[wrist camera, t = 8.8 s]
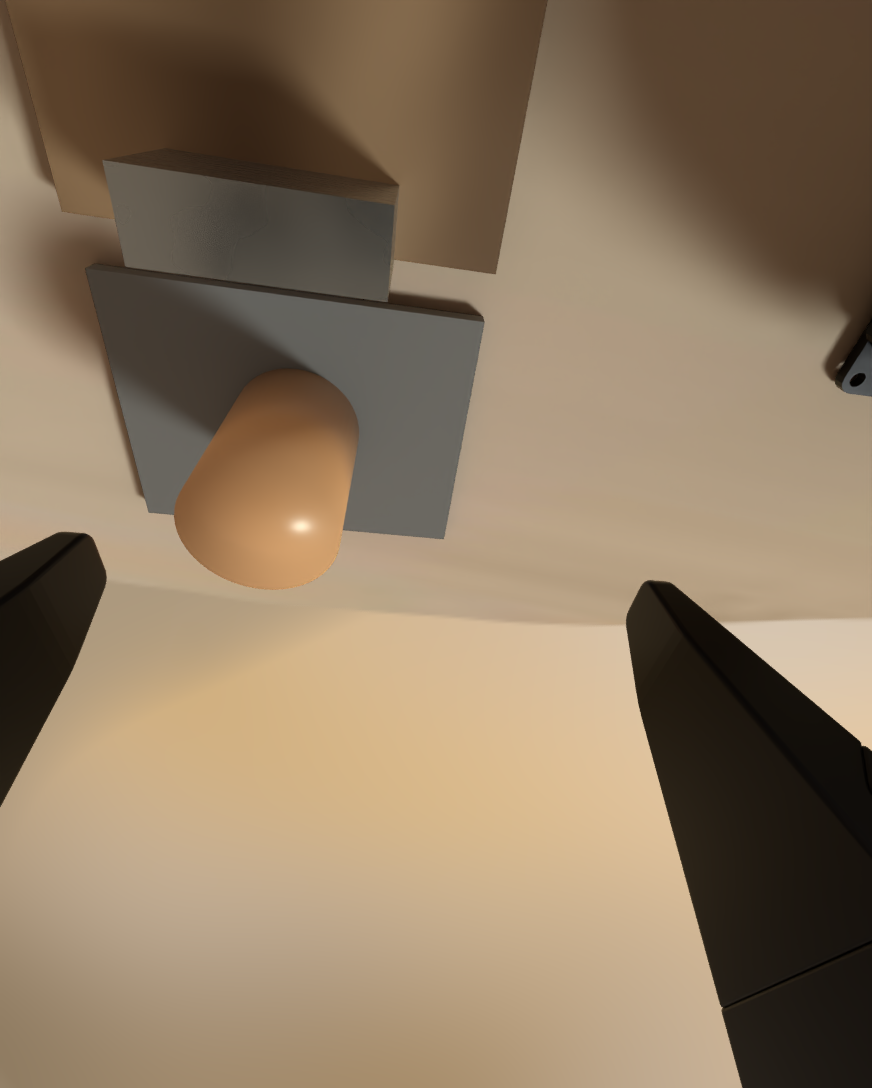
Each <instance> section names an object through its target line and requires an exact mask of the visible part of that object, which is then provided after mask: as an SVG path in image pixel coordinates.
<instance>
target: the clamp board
mask: <svg viewBox="0 0 872 1088" xmlns="http://www.w3.org/2000/svg"><path fill="white" fill-rule="evenodd" d="M5 1H6V5H7V9H8V12H9V16H10V20H11V24H12V27H13V31H14V35H15V38H16V42H17V46H18V50H19V53H20V57H21V61H22V64H23V68H24V72H25V76H26V79H27V83H28V87H29V90H30V94H31V98H32V102H33V105H34V109H35V113H36V116H37V120H38V124H39V128H40V131H41V135H42V139H43V143H44V146H45V150H46V154H47V157H48V161H49V165H50V169H51V172H52V176H53V180H54V183H55V187H56V191H57V195H58V198H59V202H60V206H61V209H62V212H68V213H75V214H82V215H89V216H95V217H102V218H109V219H115V217H114V212H113V208H112V203H111V198H110V194H109V189H108V185H107V180H106V175H105V171H104V166H103V161H102V160H105V159H110V158H115V157H121V156H126V155H131V154H137V153H142V152H147V151H152V150H158V149H163V148H168V149H174V150H180V151H187V152H193V153H199V154H205V155H212V156H218V157H224V158H231V159H237V160H243V161H249V162H256V163H262V164H268V165H275V166H281V167H287V168H294V169H300V170H306V171H312V172H319V173H325V174H331V175H338V176H344V177H350V178H356V179H363V180H369V181H375V182H382V183H388V184H394V185H399V198H398V211H397V224H396V237H395V251H394V260H400V261H407V262H414V263H421V264H428V265H435V266H442V267H449V268H456V269H463V270H470V271H477V272H483V273H490V274H496V269H497V264H498V259H499V254H500V248H501V243H502V238H503V232H504V227H505V222H506V217H507V211H508V206H509V201H510V196H511V190H512V185H513V180H514V174H515V169H516V164H517V159H518V153H519V148H520V143H521V138H522V132H523V127H524V122H525V116H526V111H527V106H528V101H529V95H530V90H531V85H532V80H533V74H534V69H535V64H536V58H537V53H538V48H539V43H540V37H541V32H542V27H543V22H544V16H545V11H546V6H547V0H5Z"/></svg>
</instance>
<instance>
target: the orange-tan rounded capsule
mask: <svg viewBox="0 0 872 1088" xmlns="http://www.w3.org/2000/svg"><path fill="white" fill-rule="evenodd" d="M358 441H359V425H358V420H357V416H356V413H355V411H354V409H353V407H352V405H351V403H350V402H349V400H348V399H347V398H346V396H345V395H344V394H343V393H342V392H341V391H340V390H339V389H338V388H337V387H336V386H335V385H333V384H332V383H331V382H329V381H328V380H326V379H324V378H323V377H321V376H318V375H316V374H314V373H311V372H308V371H305V370H299V369H290V368H285V369H276V370H271V371H268V372H265V373H262V374H261V375H259V376H257V377H255V378H254V379H252V380H251V381H250V382H249V383H248V384H247V385H246V386H245V387H244V388H243V390H242V391H241V393H240V394H239V396H238V398H237V399H236V401H235V403H234V404H233V406H232V408H231V409H230V411H229V412H228V414H227V416H226V417H225V419H224V421H223V422H222V424H221V426H220V427H219V429H218V430H217V432H216V434H215V435H214V437H213V439H212V440H211V442H210V444H209V445H208V447H207V448H206V450H205V452H204V453H203V455H202V457H201V458H200V460H199V462H198V463H197V465H196V466H195V468H194V470H193V471H192V473H191V475H190V476H189V478H188V480H187V481H186V483H185V484H184V486H183V488H182V489H181V491H180V493H179V495H178V497H177V500H176V503H175V508H174V519H175V526H176V529H177V532H178V535H179V537H180V539H181V541H182V543H183V544H184V546H185V547H186V549H187V550H188V551H189V552H190V553H191V555H192V556H193V557H194V558H195V559H196V560H197V561H198V562H199V563H201V564H202V565H203V566H204V567H206V568H207V569H208V570H210V571H212V572H213V573H215V574H216V575H218V576H220V577H222V578H224V579H226V580H229V581H231V582H234V583H237V584H240V585H243V586H247V587H252V588H258V589H271V590H276V589H287V588H293V587H297V586H301V585H304V584H306V583H309V582H311V581H313V580H315V579H316V578H318V577H319V576H321V575H322V574H323V573H324V572H325V571H326V570H327V569H328V568H329V567H330V566H331V565H332V563H333V562H334V560H335V558H336V556H337V554H338V550H339V547H340V541H341V536H342V530H343V525H344V519H345V513H346V508H347V502H348V497H349V491H350V486H351V480H352V474H353V469H354V463H355V458H356V452H357V447H358Z"/></svg>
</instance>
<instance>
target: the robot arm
mask: <svg viewBox="0 0 872 1088" xmlns="http://www.w3.org/2000/svg"><path fill="white" fill-rule="evenodd" d="M856 374H858V375H857V377H856V378H855V379H854V380H852V381H851V382H850V380H851V378H852V377H853V376H854V375H856ZM835 384H836V386H837V387H838V388H840V389H841V390H842V391H844V392H846V393H849V394H856V395H864V396H872V320H871V322H870V323H869V325H868V327H867V328H866V330H865V331H864V333H863V334H862V336H861V338H860V339H859V341H858V342H857V344H856V345H855V347H854V349H853V350H852V352H851V353H850V355H849V356H848V358H847V360H846V361H845V363H844V364H843V366H842V367H841V369H840V371H839V372H838V374H837V376H836V378H835ZM106 578H107V576H106V570H105V568H104V565H103V563H102V560H101V557H100V555H99V552H98V550H97V547H96V545H95V542H94V540H93V538H92V537H91V536H90V535H88V534H85V533H75V532H58V533H56V534H54V535H52V536H50V537H48V538H46V539H44V540H42V541H40V542H38V543H36V544H34V545H32V546H30V547H28V548H25V549H23V550H21V551H19V552H17V553H15V554H13V555H11V556H9V557H7V558H5V559H3V560H1V561H0V807H1V805H2V803H3V801H4V799H5V797H6V795H7V793H8V791H9V790H10V788H11V786H12V784H13V782H14V780H15V778H16V776H17V775H18V773H19V771H20V769H21V767H22V765H23V763H24V761H25V759H26V758H27V756H28V754H29V752H30V750H31V748H32V746H33V744H34V742H35V740H36V739H37V737H38V735H39V733H40V731H41V729H42V727H43V725H44V723H45V722H46V720H47V718H48V716H49V714H50V712H51V710H52V708H53V706H54V705H55V702H56V701H57V699H58V697H59V695H60V693H61V691H62V689H63V687H64V685H65V684H66V682H67V680H68V678H69V676H70V674H71V671H72V670H73V667H74V665H75V663H76V660H77V658H78V655H79V653H80V650H81V648H82V645H83V643H84V640H85V638H86V635H87V632H88V630H89V627H90V625H91V622H92V619H93V617H94V614H95V612H96V609H97V607H98V604H99V601H100V599H101V596H102V593H103V591H104V588H105V585H106ZM626 628H627V634H628V641H629V647H630V654H631V660H632V667H633V674H634V680H635V687H636V693H637V698H638V704H639V708H640V712H641V717H642V720H643V724H644V728H645V731H646V735H647V739H648V742H649V746H650V750H651V753H652V757H653V761H654V764H655V768H656V771H657V775H658V779H659V782H660V786H661V790H662V794H663V797H664V801H665V805H666V808H667V812H668V816H669V819H670V823H671V827H672V830H673V833H674V838H675V841H676V845H677V848H678V852H679V856H680V860H681V863H682V867H683V871H684V874H685V878H686V882H687V885H688V889H689V893H690V896H691V900H692V903H693V907H694V911H695V914H696V918H697V922H698V925H699V929H700V933H701V936H702V940H703V944H704V947H705V951H706V954H707V958H708V962H709V965H710V969H711V973H712V977H713V980H714V984H715V987H716V991H717V995H718V999H719V1002H720V1005H721V1007H723V1008H722V1015H723V1018H724V1022H725V1025H726V1029H727V1033H728V1037H729V1040H730V1044H731V1048H732V1051H733V1055H734V1059H735V1062H736V1066H737V1070H738V1073H739V1077H740V1080H741V1084H742V1088H872V751H871V750H870V749H869V748H868V747H866V746H861V742H860V741H859V740H858V739H857V738H855V737H854V736H853V735H852V734H851V733H850V732H848V731H847V730H846V729H845V728H843V727H842V726H841V725H840V724H839V723H838V722H836V721H835V720H834V719H833V718H832V717H830V716H829V715H828V714H827V713H826V712H824V711H823V710H822V709H821V708H820V707H819V706H817V705H816V704H815V703H814V702H813V701H811V700H810V699H809V698H808V697H807V696H805V695H804V694H803V693H802V692H801V691H800V690H798V689H797V688H796V687H795V686H793V685H792V684H791V683H790V682H789V681H788V680H786V679H785V678H784V677H783V676H782V675H781V674H779V673H778V672H777V671H776V670H775V669H773V668H772V667H771V666H770V665H769V664H767V663H766V662H765V661H764V660H762V659H761V658H760V657H759V656H758V655H757V654H755V653H754V652H753V651H752V650H751V649H750V648H748V647H747V646H746V645H745V644H744V643H742V642H741V641H740V640H739V639H738V638H736V637H735V636H734V635H733V634H732V633H731V632H729V631H728V630H727V629H726V628H725V627H723V626H722V625H721V624H720V623H719V622H717V621H716V620H715V619H714V618H713V617H711V616H710V615H709V614H708V613H707V612H706V611H704V610H703V609H702V608H701V607H700V606H698V605H697V604H696V603H695V602H694V601H692V600H691V599H690V598H689V597H688V596H687V595H685V594H684V593H683V592H682V591H681V590H679V589H678V588H677V587H676V586H675V585H673V584H672V583H670V582H666V581H654V580H648V581H645V582H644V583H643V584H642V586H641V587H640V589H639V591H638V593H637V595H636V597H635V599H634V601H633V603H632V605H631V607H630V609H629V611H628V613H627V618H626Z"/></svg>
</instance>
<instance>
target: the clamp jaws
mask: <svg viewBox="0 0 872 1088" xmlns="http://www.w3.org/2000/svg"><path fill="white" fill-rule="evenodd" d="M102 161H103V166H104V171H105V175H106V180H107V185H108V189H109V194H110V198H111V203H112V208H113V212H114V217H115V222H116V226H117V231H118V235H119V240H120V245H121V249H122V254H123V259H124V263H125V267H131V268H139V269H146V270H153V271H161V272H168V273H175V274H183V275H190V276H197V277H205V278H212V279H220V280H227V281H234V282H242V283H249V284H256V285H264V286H271V287H278V288H286V289H293V290H301V291H308V292H315V293H323V294H330V295H337V296H345V297H352V298H360V299H367V300H374V301H382V302H388V297H389V290H390V284H391V278H392V272H393V264H394V251H395V237H396V224H397V211H398V198H399V185H394V184H388V183H382V182H375V181H369V180H363V179H356V178H350V177H344V176H338V175H331V174H325V173H319V172H312V171H306V170H300V169H294V168H287V167H281V166H275V165H268V164H262V163H256V162H249V161H243V160H237V159H231V158H224V157H218V156H212V155H205V154H199V153H193V152H187V151H180V150H174V149H168V148H163V149H158V150H152V151H147V152H142V153H137V154H131V155H126V156H121V157H115V158H110V159H105V160H102Z"/></svg>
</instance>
